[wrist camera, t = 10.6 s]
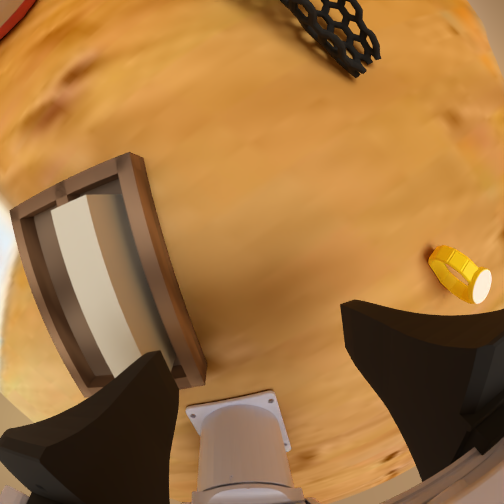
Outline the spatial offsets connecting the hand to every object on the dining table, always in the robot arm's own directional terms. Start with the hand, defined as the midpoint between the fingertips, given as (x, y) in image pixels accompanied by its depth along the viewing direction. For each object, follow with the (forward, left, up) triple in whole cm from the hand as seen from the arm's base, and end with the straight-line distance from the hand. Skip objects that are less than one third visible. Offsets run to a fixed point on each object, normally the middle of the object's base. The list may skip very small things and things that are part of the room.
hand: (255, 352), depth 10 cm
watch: (-4, -17, -10) cm, 20 cm away
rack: (+2, +10, -9) cm, 14 cm away
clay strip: (+2, +8, -8) cm, 11 cm away
